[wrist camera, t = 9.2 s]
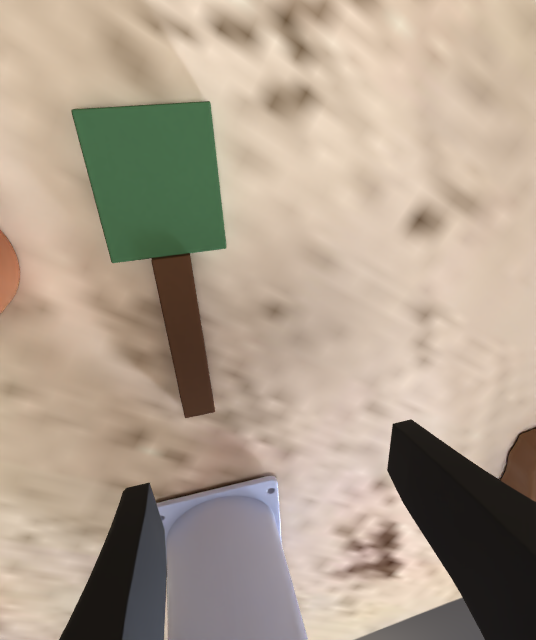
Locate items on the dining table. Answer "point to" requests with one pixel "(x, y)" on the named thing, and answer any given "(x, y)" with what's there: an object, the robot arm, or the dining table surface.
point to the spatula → (160, 213)
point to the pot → (7, 272)
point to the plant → (522, 465)
